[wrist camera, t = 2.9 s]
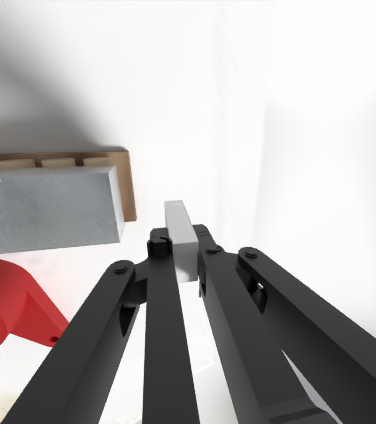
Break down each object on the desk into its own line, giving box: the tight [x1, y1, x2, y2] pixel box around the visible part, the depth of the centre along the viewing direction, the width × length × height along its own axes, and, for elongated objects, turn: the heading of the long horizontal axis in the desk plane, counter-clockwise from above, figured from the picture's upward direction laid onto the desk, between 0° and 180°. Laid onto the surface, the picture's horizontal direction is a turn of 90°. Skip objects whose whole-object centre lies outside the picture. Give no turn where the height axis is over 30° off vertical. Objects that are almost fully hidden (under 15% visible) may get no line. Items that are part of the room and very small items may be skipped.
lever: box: [0, 260, 69, 347], centre depth 26 cm, size 18×9×7 cm, turn 29°
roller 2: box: [83, 157, 114, 166], centre depth 22 cm, size 8×3×3 cm, turn 0°
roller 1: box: [0, 159, 36, 169], centre depth 21 cm, size 8×3×3 cm, turn 0°
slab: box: [0, 165, 125, 254], centre depth 19 cm, size 12×7×4 cm, turn 90°
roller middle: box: [41, 158, 76, 167], centre depth 22 cm, size 8×3×3 cm, turn 0°
